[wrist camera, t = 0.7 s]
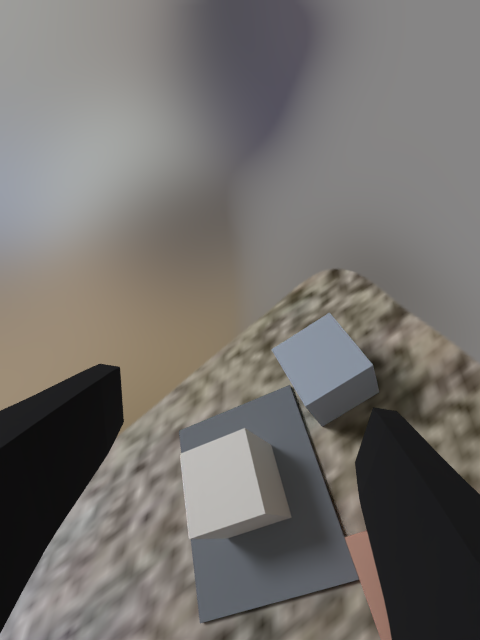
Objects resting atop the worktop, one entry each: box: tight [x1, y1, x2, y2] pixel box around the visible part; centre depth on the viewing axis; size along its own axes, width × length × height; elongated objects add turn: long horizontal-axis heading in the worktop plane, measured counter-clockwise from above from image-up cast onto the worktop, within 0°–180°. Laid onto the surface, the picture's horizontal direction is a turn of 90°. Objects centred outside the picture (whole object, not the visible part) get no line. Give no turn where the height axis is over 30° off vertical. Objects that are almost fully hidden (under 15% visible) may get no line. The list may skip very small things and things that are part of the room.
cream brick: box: [180, 428, 292, 539], centre depth 21 cm, size 5×5×5 cm
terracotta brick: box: [345, 531, 392, 640], centre depth 15 cm, size 5×5×5 cm
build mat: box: [179, 385, 359, 623], centre depth 22 cm, size 12×10×1 cm
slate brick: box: [272, 313, 379, 426], centre depth 22 cm, size 5×5×5 cm
